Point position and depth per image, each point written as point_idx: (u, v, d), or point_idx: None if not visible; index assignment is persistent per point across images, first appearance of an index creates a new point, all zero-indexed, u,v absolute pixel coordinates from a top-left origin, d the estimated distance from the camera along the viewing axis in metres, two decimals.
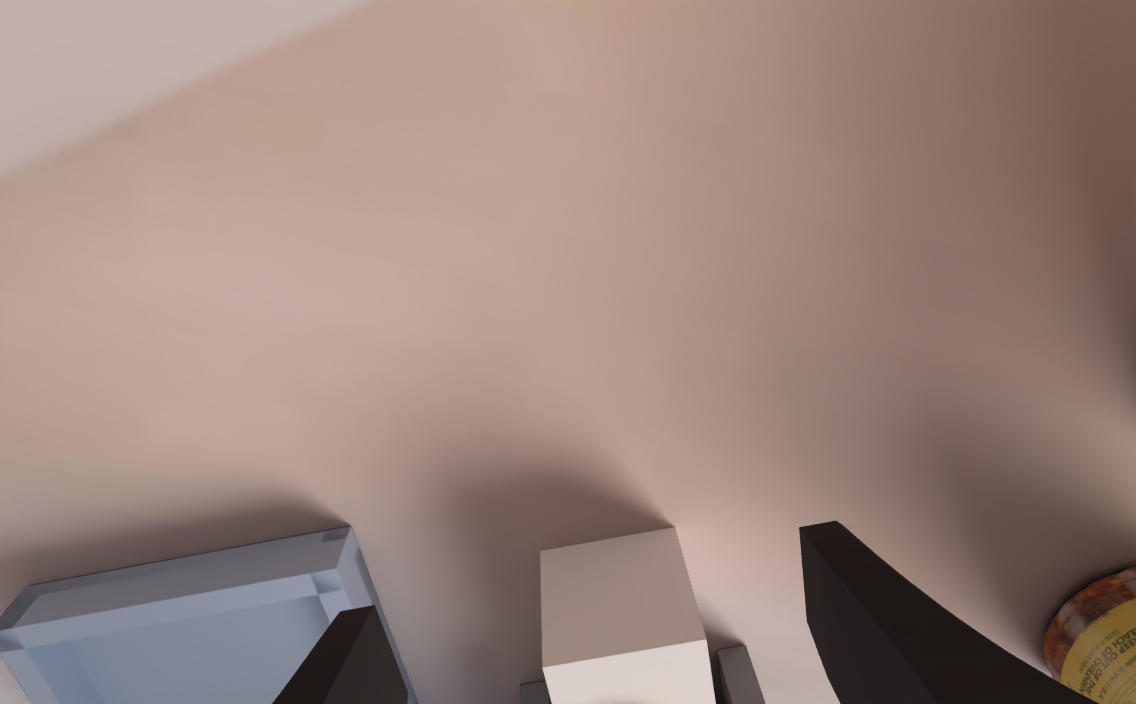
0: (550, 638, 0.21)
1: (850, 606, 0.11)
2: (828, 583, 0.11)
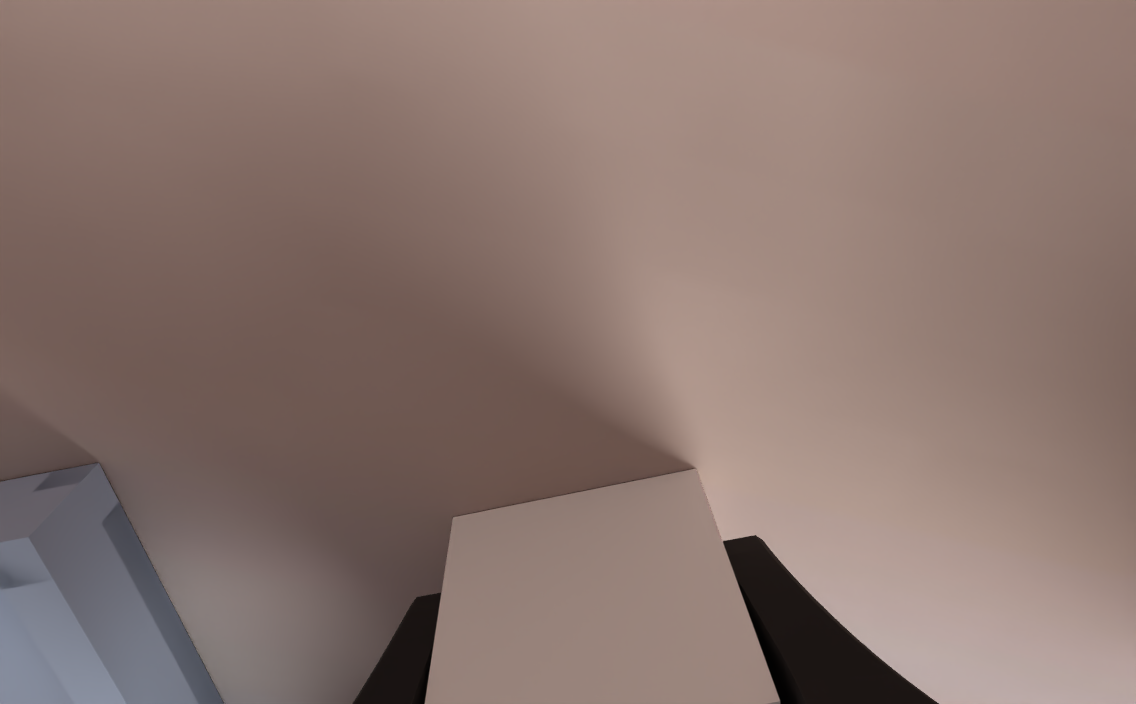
0: (443, 697, 0.10)
1: (755, 623, 0.11)
2: None
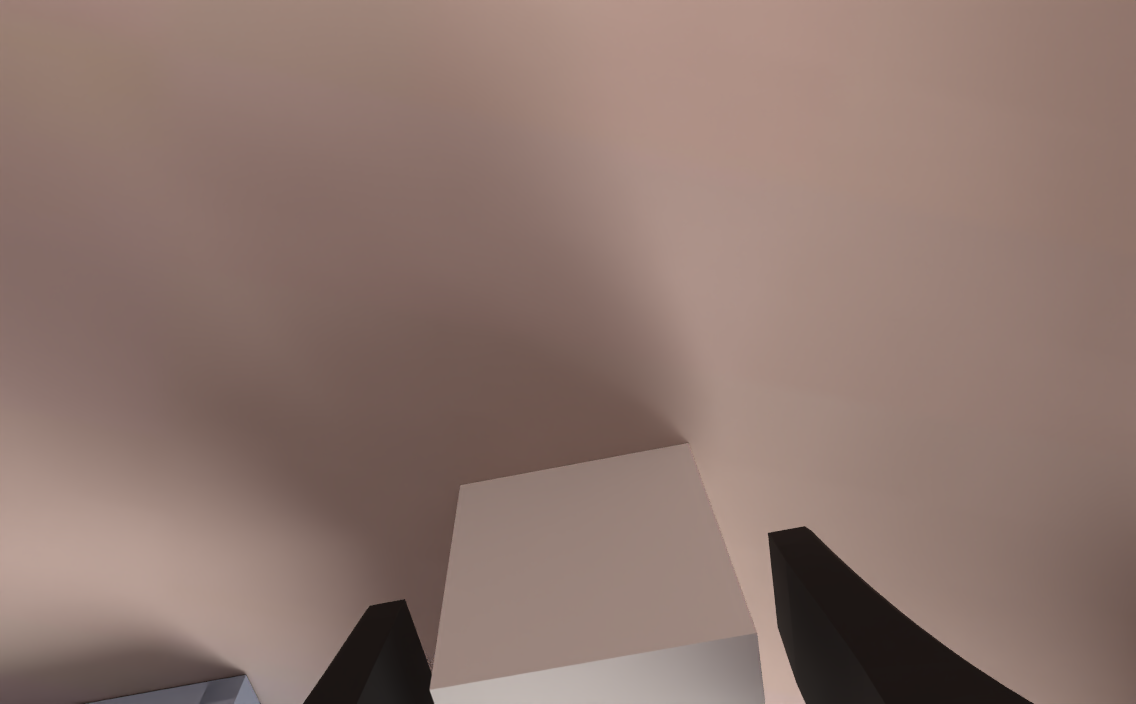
0: (454, 632, 0.11)
1: (813, 612, 0.11)
2: (794, 589, 0.11)
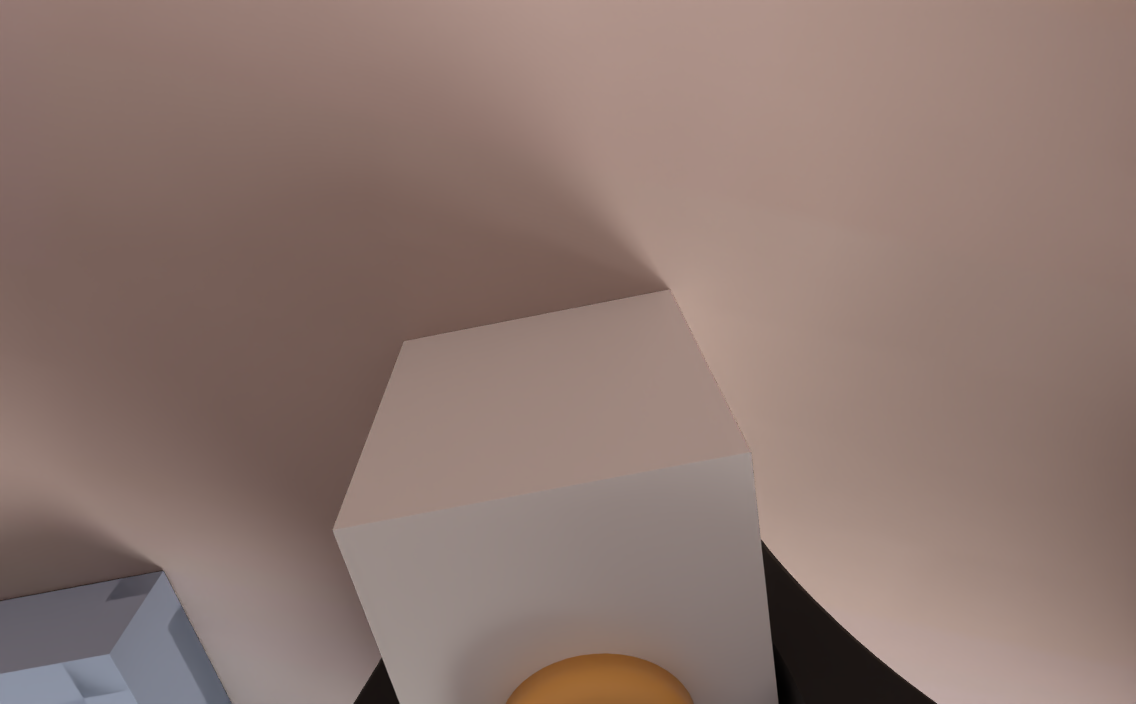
0: (372, 473, 0.09)
1: None
2: None
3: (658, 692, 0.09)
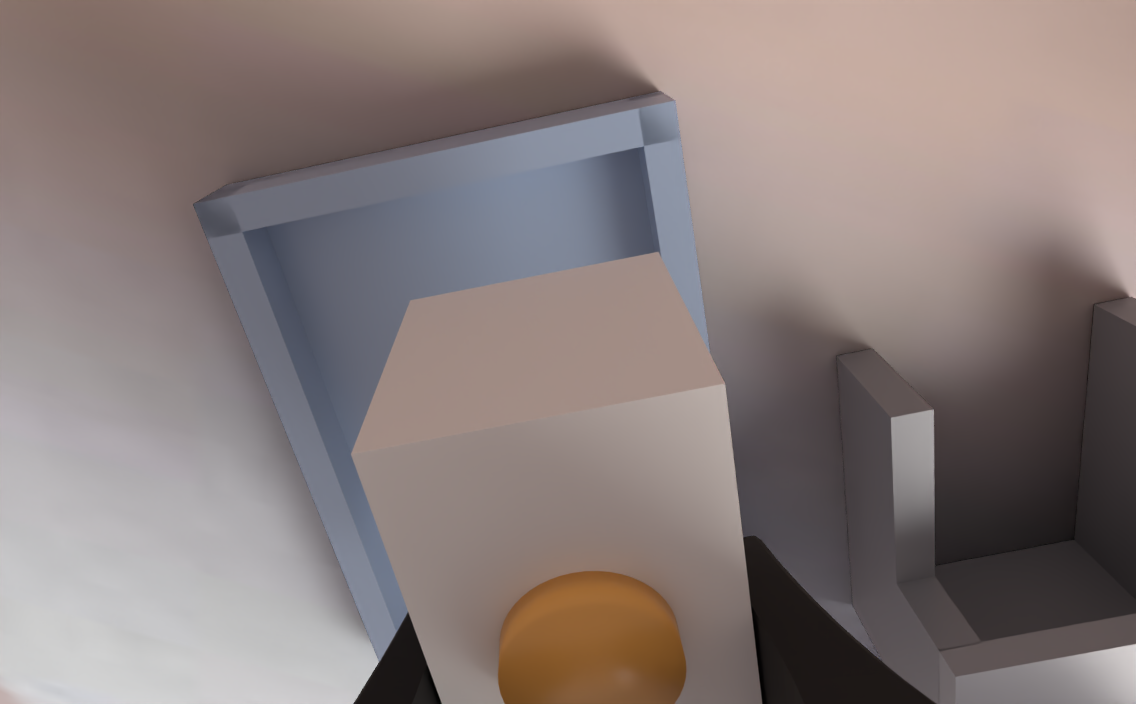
0: (385, 409, 0.10)
1: (754, 623, 0.11)
2: None
3: (642, 603, 0.10)
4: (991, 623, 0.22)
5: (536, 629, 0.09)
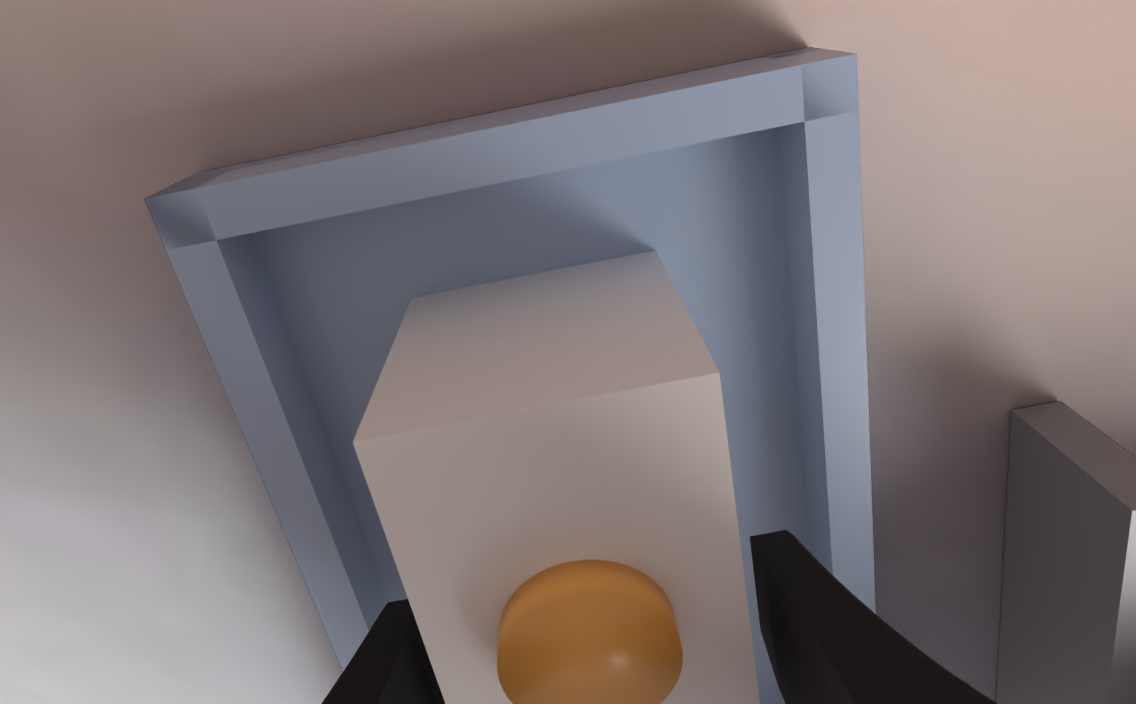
0: (386, 400, 0.10)
1: (792, 616, 0.11)
2: (774, 593, 0.11)
3: (639, 590, 0.10)
4: None
5: (534, 616, 0.10)
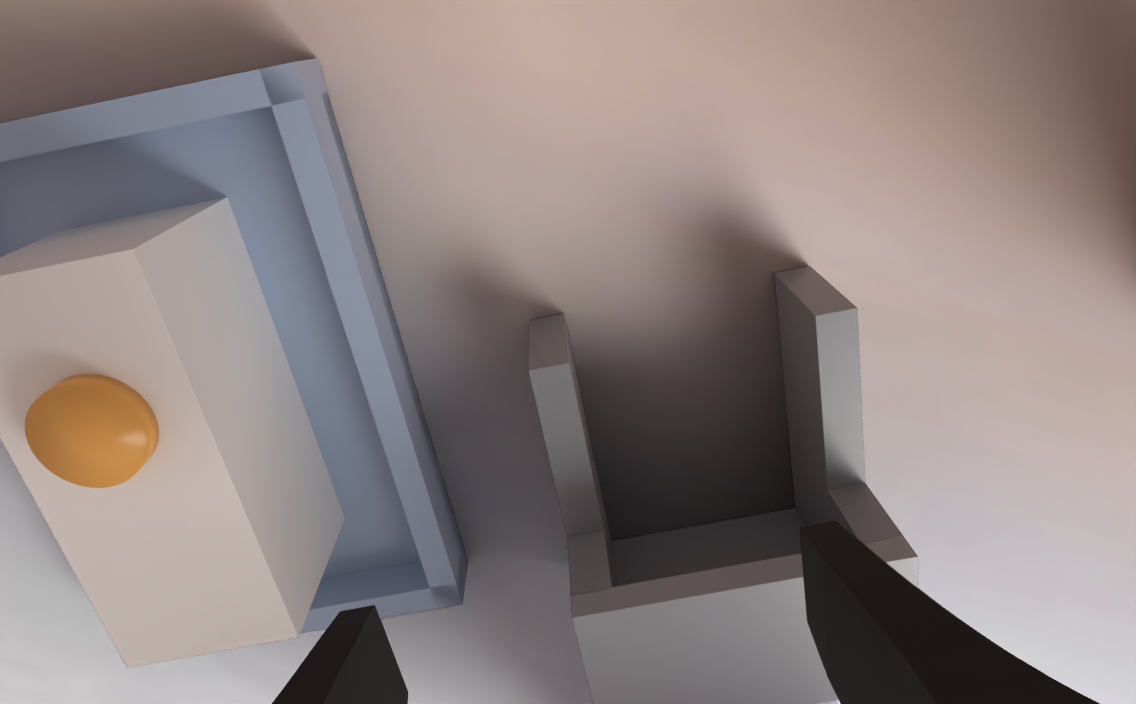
0: None
1: (850, 606, 0.11)
2: (828, 583, 0.11)
3: (109, 389, 0.16)
4: None
5: (41, 403, 0.16)
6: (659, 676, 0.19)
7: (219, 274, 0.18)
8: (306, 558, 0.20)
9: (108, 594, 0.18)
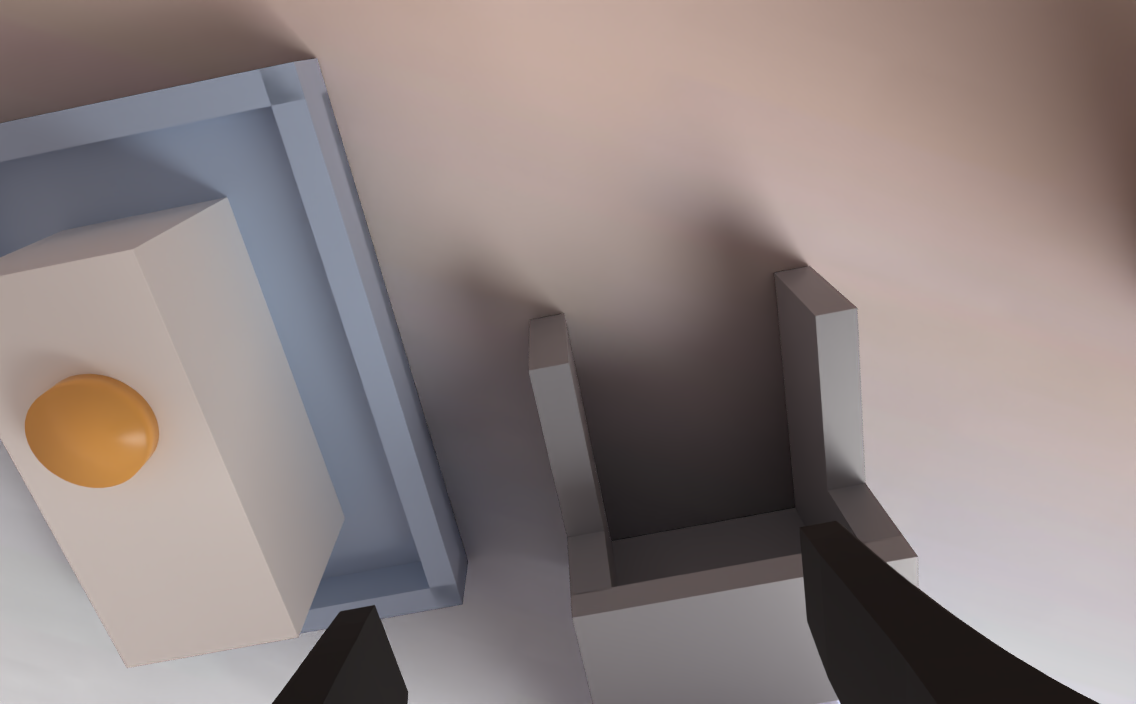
0: None
1: (850, 606, 0.11)
2: (828, 583, 0.11)
3: (109, 389, 0.16)
4: None
5: (41, 403, 0.16)
6: (659, 676, 0.19)
7: (219, 274, 0.18)
8: (306, 558, 0.20)
9: (108, 594, 0.18)
